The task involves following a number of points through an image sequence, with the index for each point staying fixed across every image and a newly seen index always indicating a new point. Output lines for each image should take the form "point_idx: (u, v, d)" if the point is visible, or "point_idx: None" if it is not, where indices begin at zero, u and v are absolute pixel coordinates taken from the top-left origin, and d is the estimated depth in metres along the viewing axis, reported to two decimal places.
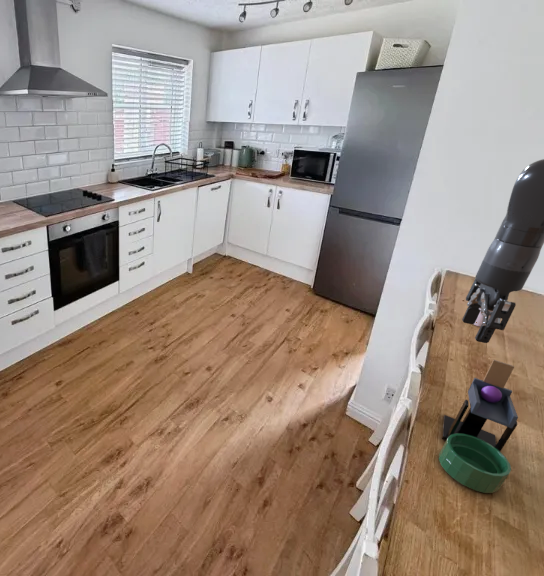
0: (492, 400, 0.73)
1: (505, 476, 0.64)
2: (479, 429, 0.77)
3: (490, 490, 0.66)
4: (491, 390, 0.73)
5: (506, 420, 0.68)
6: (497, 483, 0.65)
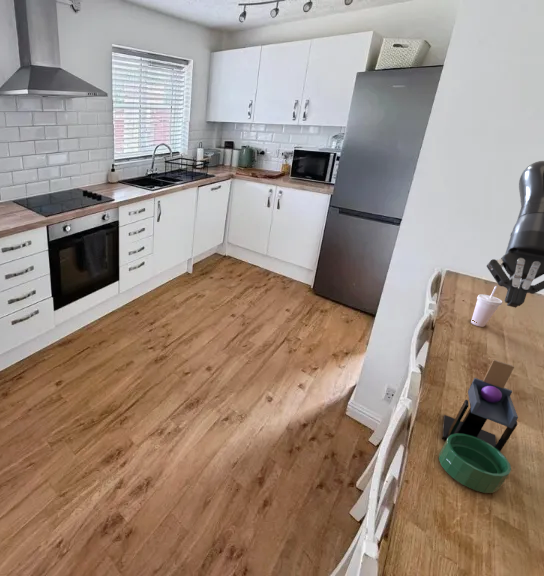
0: (492, 400, 0.73)
1: (505, 476, 0.64)
2: (479, 429, 0.77)
3: (490, 490, 0.66)
4: (491, 390, 0.73)
5: (506, 420, 0.68)
6: (497, 483, 0.65)
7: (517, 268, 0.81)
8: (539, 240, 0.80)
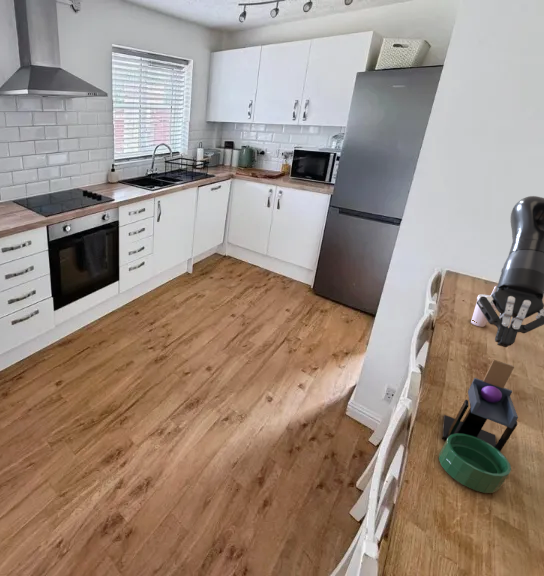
0: (492, 400, 0.73)
1: (505, 476, 0.64)
2: (479, 429, 0.77)
3: (490, 490, 0.66)
4: (491, 390, 0.73)
5: (506, 420, 0.68)
6: (497, 483, 0.65)
7: (507, 306, 0.79)
8: (529, 278, 0.78)
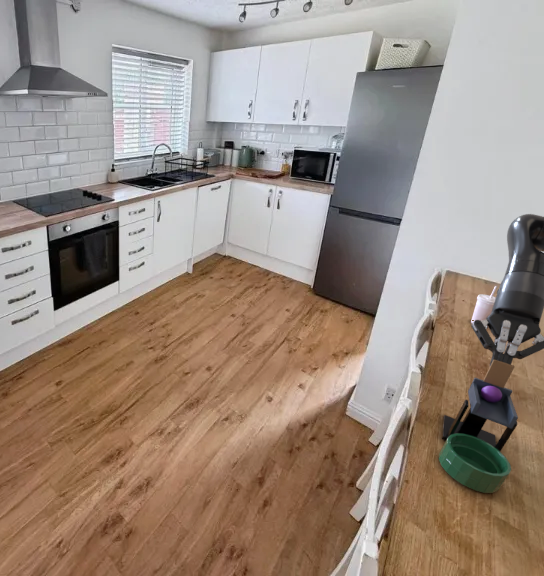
0: (492, 400, 0.73)
1: (505, 476, 0.64)
2: (479, 429, 0.77)
3: (490, 490, 0.66)
4: (491, 390, 0.73)
5: (506, 420, 0.68)
6: (497, 483, 0.65)
7: (502, 331, 0.76)
8: (525, 302, 0.74)
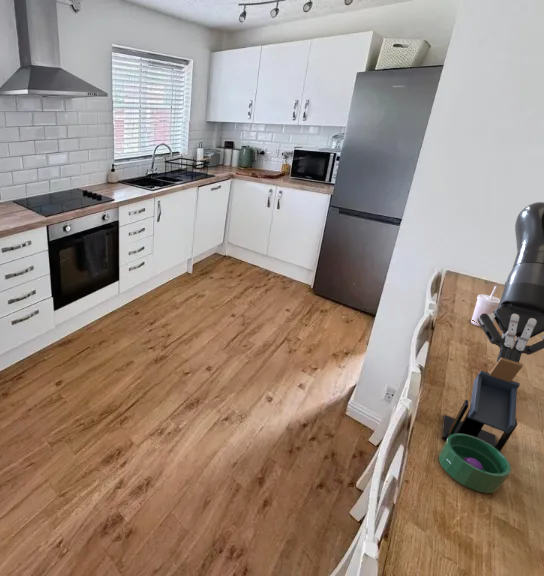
0: (477, 462, 0.68)
1: (505, 476, 0.64)
2: (479, 429, 0.77)
3: (490, 490, 0.66)
4: None
5: (504, 423, 0.68)
6: (497, 483, 0.65)
7: (510, 325, 0.72)
8: (535, 295, 0.71)
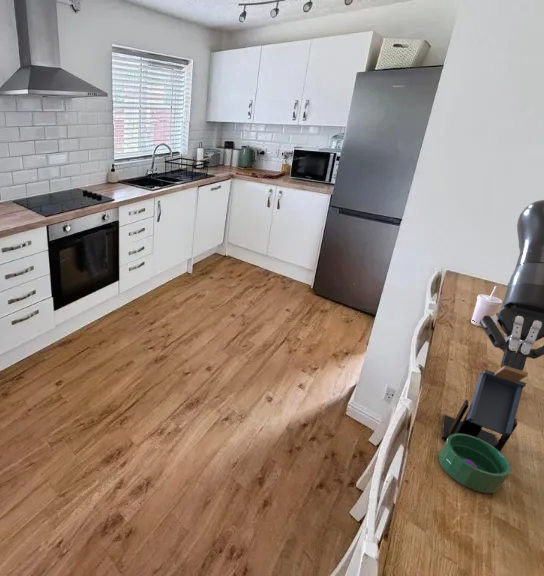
0: None
1: (505, 476, 0.64)
2: (479, 429, 0.77)
3: (490, 490, 0.66)
4: None
5: (503, 425, 0.69)
6: (497, 483, 0.65)
7: (515, 328, 0.69)
8: (540, 296, 0.68)
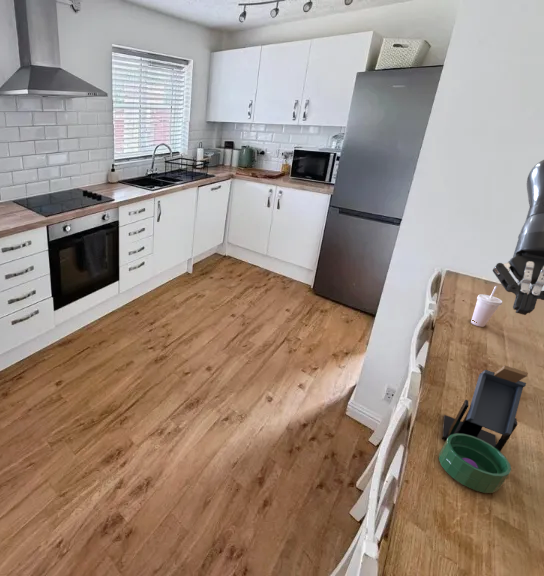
0: None
1: (505, 476, 0.64)
2: (479, 429, 0.77)
3: (490, 490, 0.66)
4: None
5: (503, 425, 0.69)
6: (497, 483, 0.65)
7: (526, 272, 0.75)
8: None
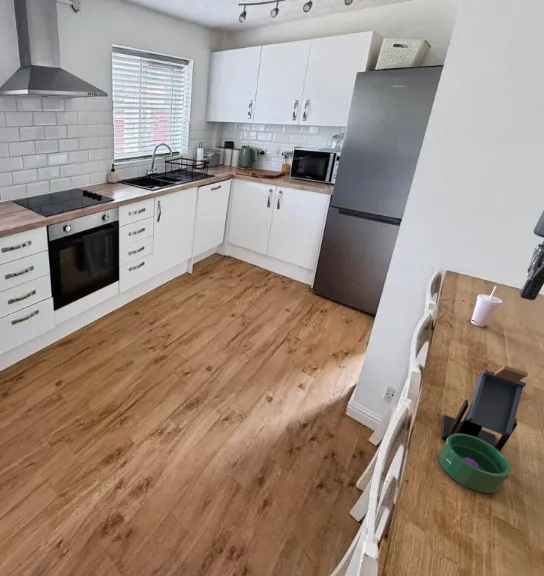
0: (470, 461, 0.68)
1: (505, 476, 0.64)
2: (479, 429, 0.77)
3: (490, 490, 0.66)
4: None
5: (503, 425, 0.69)
6: (497, 483, 0.65)
7: None
8: None
